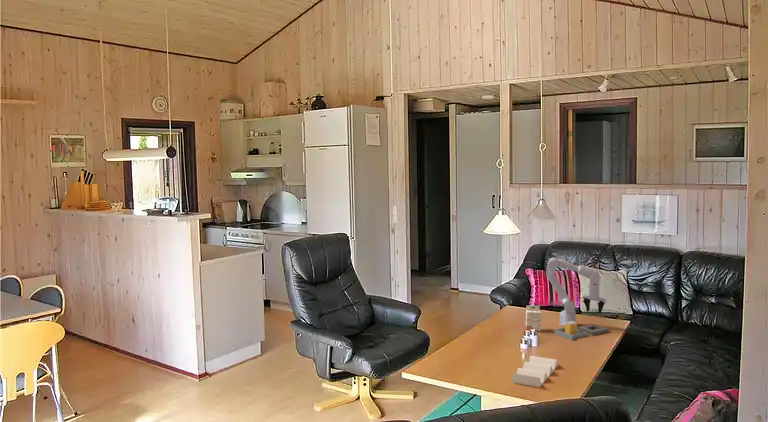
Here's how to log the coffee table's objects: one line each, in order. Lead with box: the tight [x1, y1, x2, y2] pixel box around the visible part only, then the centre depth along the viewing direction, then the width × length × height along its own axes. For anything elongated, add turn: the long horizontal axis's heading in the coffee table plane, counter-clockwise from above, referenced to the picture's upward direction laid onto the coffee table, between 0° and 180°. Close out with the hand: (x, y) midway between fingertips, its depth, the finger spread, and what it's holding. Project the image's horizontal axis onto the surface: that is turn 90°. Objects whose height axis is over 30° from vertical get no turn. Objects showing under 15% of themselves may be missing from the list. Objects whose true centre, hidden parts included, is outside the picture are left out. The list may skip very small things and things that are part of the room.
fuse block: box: [577, 323, 610, 336], centre depth 361 cm, size 12×14×3 cm
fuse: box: [564, 321, 578, 335], centre depth 355 cm, size 4×6×7 cm
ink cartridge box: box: [525, 305, 542, 332], centre depth 367 cm, size 9×5×15 cm, turn 84°
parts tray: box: [554, 327, 588, 341], centre depth 355 cm, size 14×12×3 cm
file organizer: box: [511, 355, 559, 388], centre depth 293 cm, size 13×35×5 cm, turn 150°
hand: (593, 312), depth 370 cm, fingers open, 7 cm apart
